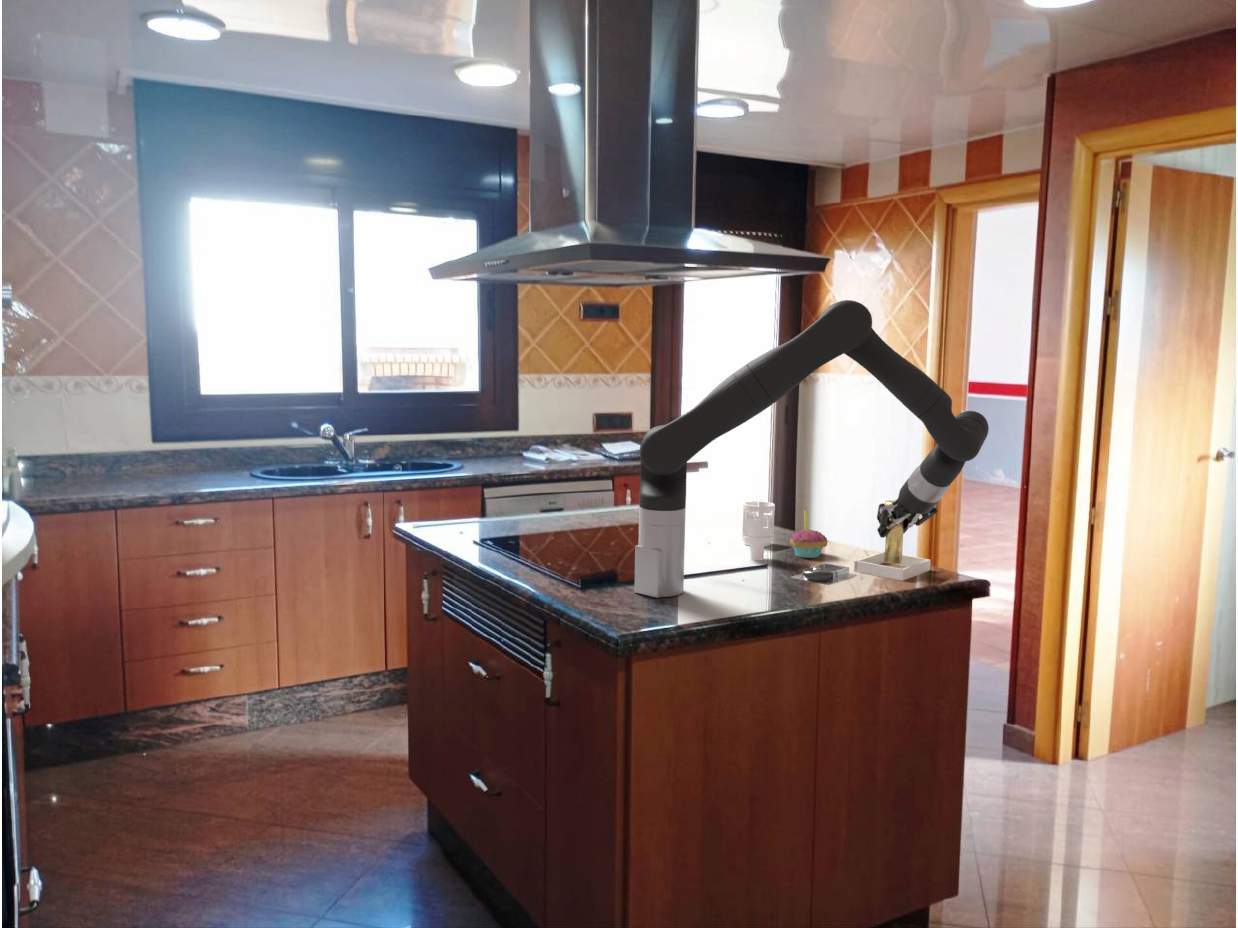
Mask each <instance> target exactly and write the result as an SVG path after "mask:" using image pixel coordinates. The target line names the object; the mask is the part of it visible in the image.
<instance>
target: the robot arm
mask: <svg viewBox="0 0 1238 928" xmlns="http://www.w3.org/2000/svg"><path fill="white" fill-rule="evenodd" d="M843 354H844V355H845V356H847V357H849V358H850V359H851V360H853V362H854V361H855V363H856V364H858V365H860V366H861V367H862V368H863V369H865V370H866V371H867V372H868V373H869V374H871V375H872V376H873V377H875V379H877V381H879V382H880V384H881V385H882V386H884V387H885V388H886V389H887V390H888V392H889V393H891V395H892V396H893V397H895V398H896V399H897V400H898V401H899V402H900V403H901V404H902V405H903V406H904V407H905V408H906V409H908V410H909V411H910V412H911V413H912V414H913V416H915V417H916V418H918V420H920V421H921V422H922V423H923V425H924V427H925V429H926V431H927V432H928V433H929V435H930V436H931V438H932V439H933V441H934V442H935V443H936V445H935V446H934V447H933V448H932V449H931V450H930V452H929V453H928V454H927V455H926V456H925V458H923V460H922V462H921V463H920V464H919V465H918V466H917V467H916V468H915V469H914V470H913V472H911V474H910V475H909V477H908V478H907V479H906V481H905V482H904V483H903V485H902V486H901V488H900V489H899V493H898V497H897V499H895V500H893V501H894V502H893V503H892V505H888V506H885V503H880V504H879V505H878V508H877V509H878V510H877V512H876V513H877V515H876V519H877V521H878V523H879V526H878V527H877V530H876V531H877V533H878V536H880V537H879V538H884V539H885V538H886V535H887V533H888V532H889V531H890V530H891V528H892V527H893V526H894V525H895V524H899V523H901V522H902V521H903V520H904V528H903V535H904V534H906V532H907V531H908V529H910V528H913V526H916V527H919V526H921V525H922V524H923V523H925V522H926V521H928V520H930V518H932V517H933V516H935V515H936V514H938V512H939V510H938V508H937V504H938V502H939V501H940V500H941V499H942V498H943V496H944V495H945V494H946V493H947V491H948V490H949V488H950V487H951V485H952V483H953V482H954V481H955V479H956V478H957V477H958V476H959V474H960V473H961V471H962V469H964V465H965V464H966V463H967V462H969V461H972V460H973V459H974V458H975V459H976V456H978V454H979V453H980V450H982V446H983V445H984V443H985V441H986V439H987V438H988V434H989V424H988V423H989V422H988V421H987V419H986V417H985V416H984V415H983V414H981V413H980V412H977V411H974V410H965V411H963V412H960V413H958V414H957V415H956V416H955V415H954V413H953V411H952V407H953V400H952V398H951V396H950V395H949V394H948V393H947V392H946V391H945V390H944V389H943V388H942V387H941V386H940V385H938V384H937V383H936V382H935V381H934V380H933V379H932V378H931V377H930V376H928V375H927V374H926V373H925V372H924V371H922V370H921V369H920V368H919V367H917V366H915V364H913V363H912V362H911V361H909V360H908V359H906V358H905V357H903V356H902V355H901V354H899V353H898V352H897V351H895V350H894V349H893V348H892V346H891V347H890V346H889V345H888V344H887V343H886V342H885V341H884V340H883V339H882V337H880V336H879V335H878V333H877V332H876V330H874V328H873V317H872V314H871V312H870V310H869V309H868V307H867V306H865V305H864V304H863V303H861V302H859V301H856V300H848V299H846V300H844V299H843V300H840V301H837V302H835V303H832V304H831V305H829V306H828V307H827V308H826V309H824V311H823V312H822V313H821V315H820V317H819V318H818V319H816V320H815V321H814V322H813V323H812V324H811V325H809V326H808V327H807V328H806V329H804V330H803V331H802V332H800V333H799V334H798V335H796V336H795V337H793V338H791V339H790V340H788V341H786V342H785V343H782V344H780V345H778V346H776V347H774V348H772V349H771V350H769V351H767V352H765V353H763V354H760V355H759V356H758V357H756V358H754V359H752V360H751V361H749V362H748V363H746V364H745V365H743V366H742V367H740V368H739V369H738V370H736V371H734V372H733V373H732V374H731V375H729V376H728V377H727V378H725V379H724V380H723V381H722V382H721V383H719V384H718V385H717V386H716V387H715V388H714V389H713V390H711V391H710V392H709V393H708V394H707V395H706V396H705V397H704V398H703V399H702V400H701V401H700V402H698V404H697V405H695V406H694V407H693V408H692V409H690V410H689V411H687V412H686V413H684V414H682V415H681V416H679V417H677V418H675V419H674V420H672V421H670V422H668V423H667V424H662V425H657V426H654V427H652V428H650V429H649V430H648V431H646V433H645V435H644V436H643V437H642V440H641V443H640V447H639V457H640V475H639V476H640V481H639V494H638V495H639V496H638V497H639V499H638V501H639V503H638V507H639V508H638V511H639V512H638V544H636V545H635V547H634V549H635V550H634V551H635V552H634V593H635V594H636V593H637V594H641V595H644V596H649V597H653V598H657V599H659V598H664V597H665V598H667V597H675V596H679V595H682V594H683V593H684V582H685V581H684V580H685V579H684V578H685V549H686V546H685V545H686V544H685V542H686V541H685V539H686V509H687V507H686V505H687V504H686V503H687V469H688V467H687V465H688V461H690V460H691V459H693V457H694V456H695V455H697V454H698V453H699V452H701V451H702V450H703V449H704V448H705V447H707V446H708V445H709V444H711V443H712V442H714V440H717V438H720V437H721V436H723V435H725V434H727V433H729V432H730V431H732V430H734V429H736V428H738V427H739V426H741V425H743V424H744V423H746V422H747V421H749V420H751V419H753V418H754V417H755V416H757V415H759V414H761V413H762V412H764V411H765V410H766V409H768V408H769V407H771V406H772V405H773V404H775V403H776V402H778V401H779V400H780V399H782V398H784V396H786V395H787V394H789V393H790V392H791V391H792V390H793V389H794V388H796V387H797V386H798V385H799V384H801V383H802V382H803V381H804V380H805V379H807V378H808V376H810V375H811V374H812V373H814V372H815V371H817V370H818V369H819V368H820V367H822V366H824V365H826V364H827V363H829V362H831V361H832V360H834V359H836V358H838V357H840V356H843ZM920 517H921V518H920ZM890 518H891V520H892V521H891V522H890V520H889V519H890Z"/></svg>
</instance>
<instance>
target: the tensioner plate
mask: <svg viewBox="0 0 1238 928" xmlns="http://www.w3.org/2000/svg"><path fill="white" fill-rule="evenodd" d="M856 576H857V574H854V573H850V567H849V566H844V565H840V564H839V565H838V564H833V563H830V562H829V563H828V562H823V563H817V564H813V565H811V566H809V567H804V568H802V570H801V573H799V574H795V575H793V576H790V578H791V579H796V580H802V581H806V582H811V583H815V584H816V583H817V584H820V585H826V586H829V585H833V584H835V583H839V582H842V581H845V580H847V579H848V580H849V579H851V578H853V577H856Z"/></svg>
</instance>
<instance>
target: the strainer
mask: <svg viewBox="0 0 1238 928" xmlns="http://www.w3.org/2000/svg"><path fill="white" fill-rule="evenodd" d="M774 508H775V509H776V504H775V503H773V502H770V501H769V502H768V501H764V500H763V499H756V500H752V501H751V500H749V501H748V500H747V501H744V502H743V503H742V515H741V517H742V519H741V520H742V521H741V522H742V523H741V541H743V542H744V541H745V542H749V543H751V545H750V546H749V551H750V553H749V559H750V560H751V561H760V562H761V561H764V559H765V557H764V556H765V555H764V553H765V547H764V543H771V544H772V543H773V542H774V530H775V526H774V525H775V512H774ZM746 510H747V511H746ZM750 511H758V513H756V512H752V514H750ZM764 511H771V513H768V514H766V513H764ZM745 514H746V527H745ZM762 517H763V518H762ZM770 523H771V531H770ZM763 525H764V526H763Z"/></svg>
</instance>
